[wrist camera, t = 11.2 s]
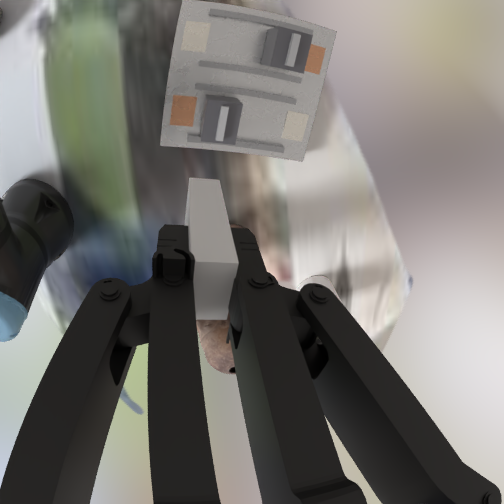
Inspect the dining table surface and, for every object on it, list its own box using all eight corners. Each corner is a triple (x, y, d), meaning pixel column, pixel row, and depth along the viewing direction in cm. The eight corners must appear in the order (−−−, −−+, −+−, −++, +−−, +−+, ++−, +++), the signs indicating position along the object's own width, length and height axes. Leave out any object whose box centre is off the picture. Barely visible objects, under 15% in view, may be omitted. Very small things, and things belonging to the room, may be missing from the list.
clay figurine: (206, 194, 46) (224, 322, 26) (260, 217, 50) (309, 340, 31) (173, 256, 52) (175, 387, 32) (224, 273, 56) (248, 397, 36)
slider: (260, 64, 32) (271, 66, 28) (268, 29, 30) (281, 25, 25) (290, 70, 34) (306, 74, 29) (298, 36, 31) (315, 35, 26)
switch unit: (161, 139, 39) (159, 148, 36) (183, 3, 28) (182, -3, 25) (296, 154, 44) (305, 164, 41) (327, 32, 33) (339, 31, 30)
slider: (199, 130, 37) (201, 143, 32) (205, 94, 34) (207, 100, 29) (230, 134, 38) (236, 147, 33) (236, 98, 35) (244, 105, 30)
